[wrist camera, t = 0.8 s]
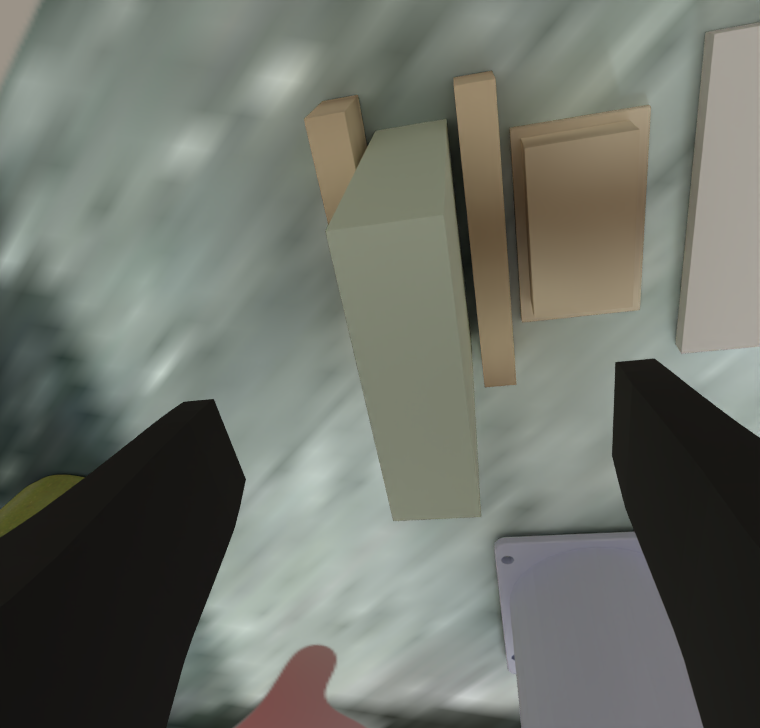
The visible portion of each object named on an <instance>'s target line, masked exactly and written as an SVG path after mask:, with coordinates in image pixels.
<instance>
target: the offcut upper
mask: <svg viewBox="0 0 760 728" xmlns="http://www.w3.org/2000/svg"><path fill="white" fill-rule="evenodd" d="M639 139H640V129H639V128H638V127H637V126H635V125H634V124H633V123H632V122H631V121H630V120H628V121H622V122H616V123H610V124H604V125H598V126H592V127H586V128H580V129H574V130H568V131H562V132H556V133H550V134H544V135H538V136H532V137H526V138H521V150H522V166H523V183H524V199H525V215H526V232H527V248H528V264H529V281H530V297H531V305H532V309H533V314H534V318H537V317H546V316H555V315H564V314H573V313H582V312H591V311H601V310H610V309H619V308H628V307H633V287H634V262H635V238H636V213H637V189H638V164H639Z"/></svg>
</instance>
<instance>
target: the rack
mask: <svg viewBox="0 0 760 728" xmlns="http://www.w3.org/2000/svg"><path fill="white" fill-rule="evenodd" d="M454 93H455V103H456V113H457V122H458V132H459V142H460V151H461V161H462V171H463V181H464V190H465V200H466V210H467V219H468V229H469V239H470V249H471V258H472V268H473V278H474V287H475V297H476V307H477V317H478V326H479V336H480V346H481V356H482V365H483V375H484V385H485V387H494V386H505V385H516V371H515V357H514V342H513V328H512V313H511V298H510V284H509V269H508V255H507V240H506V226H505V211H504V197H503V182H502V168H501V153H500V139H499V124H498V109H497V95H496V80H495V77H494V75H493V72H492V71H487V72H481V73H476V74H470V75H465V76H459V77H454ZM304 121H305V126H306V130H307V134H308V139H309V143H310V147H311V152H312V156H313V160H314V165H315V169H316V173H317V178H318V182H319V186H320V191H321V195H322V199H323V204H324V208H325V212H326V217H327V221H328V225H329V223H330V221H331V219H332V217H333V215H334V213H335V211H336V209H337V207H338V205H339V203H340V201H341V199H342V197H343V195H344V193H345V191H346V189H347V187H348V185H349V183H350V181H351V179H352V177H353V175H354V173H355V171H356V169H357V167H358V165H359V163H360V161H361V159H362V157H363V155H364V153H365V151H366V149H367V142H366V136H365V131H364V125H363V120H362V114H361V109H360V103H359V98H358V95H354V96H348V97H343V98H337V99H332V100H326V101H322V102H321V103H320V104H319V105H318V106H317V107H316V108H315V109H314V110H313V111H312V112H311V113H310V114H309V115H308V116H307V117H305V118H304Z"/></svg>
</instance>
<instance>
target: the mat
mask: <svg viewBox="0 0 760 728" xmlns="http://www.w3.org/2000/svg"><path fill="white" fill-rule="evenodd" d="M675 344H676V346H677V347H678V349H679V351H680V352H681V354H683V353H694V352H705V351H716V350H727V349H737V348H748V347H759V346H760V22H758V23H753V24H747V25H742V26H736V27H731V28H725V29H720V30H714V31H708V32H705V43H704V53H703V63H702V74H701V84H700V94H699V105H698V115H697V125H696V136H695V146H694V157H693V167H692V177H691V188H690V198H689V208H688V219H687V229H686V239H685V250H684V260H683V270H682V281H681V291H680V301H679V312H678V322H677V332H676V343H675Z"/></svg>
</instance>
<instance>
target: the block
mask: <svg viewBox="0 0 760 728" xmlns="http://www.w3.org/2000/svg"><path fill="white" fill-rule="evenodd" d="M325 232H326V236H327V240H328V244H329V249H330V253H331V257H332V262H333V266H334V270H335V274H336V279H337V283H338V287H339V291H340V296H341V300H342V304H343V308H344V313H345V317H346V321H347V326H348V330H349V334H350V338H351V343H352V347H353V351H354V355H355V360H356V364H357V368H358V372H359V377H360V381H361V385H362V390H363V394H364V398H365V402H366V407H367V411H368V415H369V419H370V424H371V428H372V432H373V437H374V441H375V445H376V449H377V454H378V458H379V462H380V466H381V471H382V475H383V479H384V483H385V488H386V492H387V496H388V501H389V505H390V509H391V513H392V518H393V521H406V520H426V519H447V518H467V517H481V505H480V488H479V470H478V452H477V435H476V417H475V399H474V382H473V364H472V346H471V333H470V324H469V315H468V306H467V297H466V288H465V279H464V270H463V261H462V252H461V243H460V234H459V225H458V216H457V208H456V199H455V190H454V181H453V172H452V163H451V154H450V145H449V136H448V127H447V119H442V120H436V121H430V122H424V123H418V124H412V125H407V126H401V127H395V128H389V129H383V130H377V131H375V133H374V135H373V137H372V139H371V141H370V143H369V145H368V147H367V149H366V151H365V153H364V155H363V157H362V159H361V161H360V163H359V165H358V167H357V169H356V171H355V173H354V175H353V177H352V179H351V181H350V183H349V185H348V187H347V189H346V191H345V193H344V195H343V197H342V199H341V201H340V203H339V205H338V207H337V209H336V211H335V213H334V215H333V217H332V219H331V221H330V223H329V225H328V227H327V229H326V231H325Z"/></svg>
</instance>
